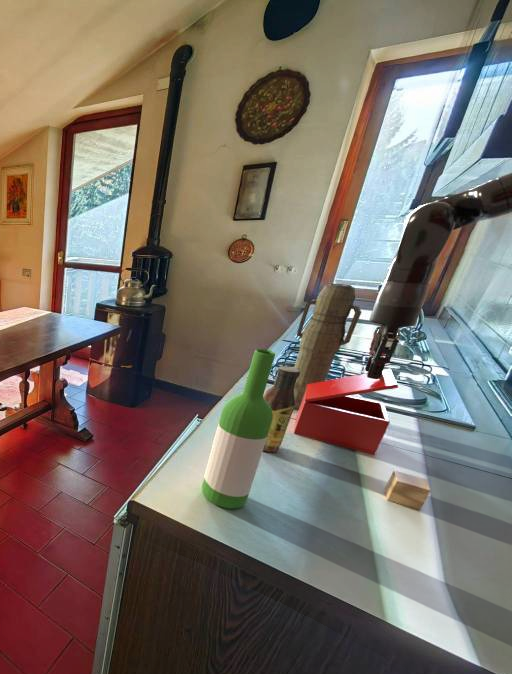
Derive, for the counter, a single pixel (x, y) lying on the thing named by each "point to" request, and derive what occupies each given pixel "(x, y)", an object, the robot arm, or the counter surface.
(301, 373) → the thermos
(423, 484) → the block
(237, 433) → the wine bottle
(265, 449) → the sauce bottle
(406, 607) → the counter surface
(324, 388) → the red box lid
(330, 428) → the red box
